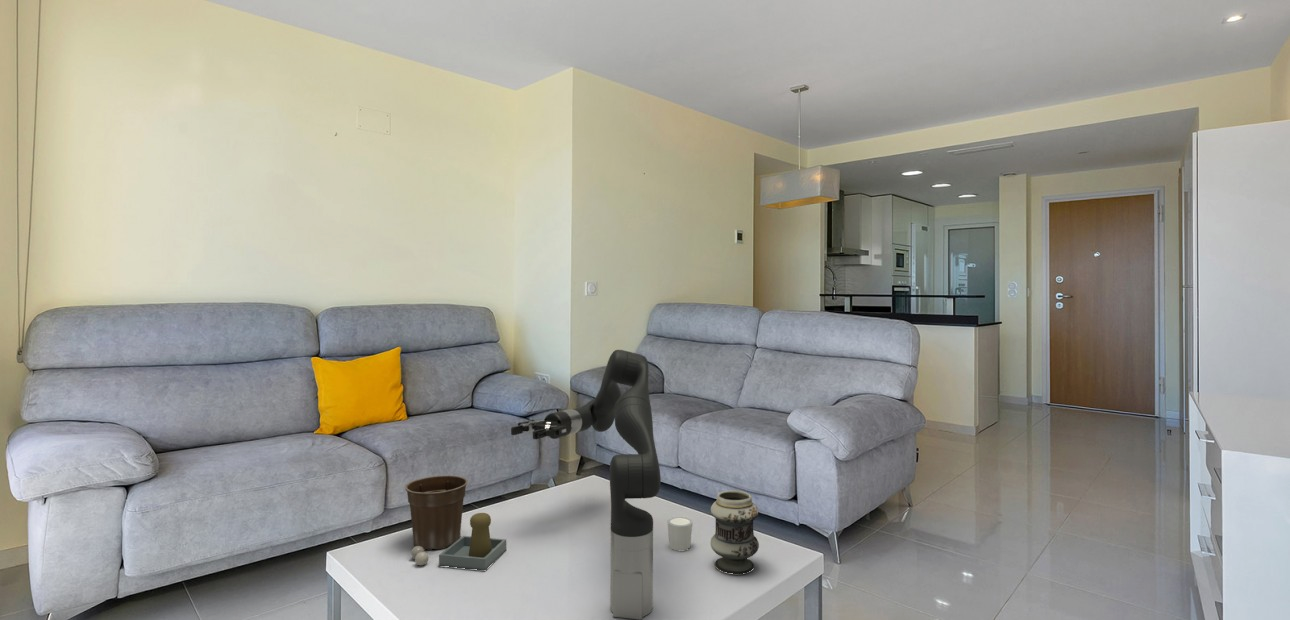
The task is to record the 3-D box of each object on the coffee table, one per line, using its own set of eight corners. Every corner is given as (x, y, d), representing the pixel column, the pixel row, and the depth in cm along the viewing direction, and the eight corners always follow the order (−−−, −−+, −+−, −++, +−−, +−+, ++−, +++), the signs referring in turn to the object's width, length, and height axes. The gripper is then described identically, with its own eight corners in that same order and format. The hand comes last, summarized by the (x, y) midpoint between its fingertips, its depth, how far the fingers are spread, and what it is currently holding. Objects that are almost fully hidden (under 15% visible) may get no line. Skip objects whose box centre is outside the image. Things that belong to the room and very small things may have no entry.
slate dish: (485, 571, 146) (485, 559, 146) (438, 566, 148) (438, 554, 148) (506, 550, 158) (506, 539, 158) (463, 546, 161) (463, 535, 161)
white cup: (690, 553, 157) (691, 526, 157) (665, 550, 159) (665, 524, 159) (693, 542, 164) (694, 517, 164) (669, 540, 165) (669, 515, 165)
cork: (463, 559, 152) (463, 516, 151) (479, 550, 157) (479, 508, 157) (481, 564, 149) (481, 520, 149) (497, 554, 154) (497, 512, 154)
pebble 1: (419, 561, 151) (419, 549, 151) (408, 560, 152) (408, 548, 152) (426, 556, 154) (426, 544, 154) (415, 555, 155) (415, 543, 155)
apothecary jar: (729, 551, 158) (730, 484, 158) (768, 566, 150) (768, 495, 149) (700, 565, 150) (700, 494, 150) (739, 582, 141) (739, 506, 141)
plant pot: (405, 534, 169) (405, 478, 169) (465, 527, 175) (465, 472, 174) (404, 557, 154) (404, 495, 153) (469, 549, 159) (469, 489, 159)
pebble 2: (424, 568, 148) (424, 555, 148) (412, 567, 148) (412, 554, 148) (431, 562, 151) (431, 550, 151) (419, 561, 151) (419, 549, 151)
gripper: (545, 408, 181) (504, 416, 167) (581, 413, 173) (541, 422, 159) (545, 433, 181) (504, 443, 168) (581, 439, 173) (541, 450, 159)
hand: (522, 433), depth 163 cm, fingers open, 8 cm apart
